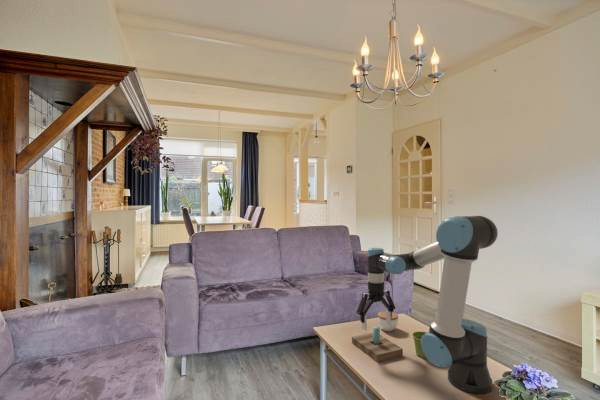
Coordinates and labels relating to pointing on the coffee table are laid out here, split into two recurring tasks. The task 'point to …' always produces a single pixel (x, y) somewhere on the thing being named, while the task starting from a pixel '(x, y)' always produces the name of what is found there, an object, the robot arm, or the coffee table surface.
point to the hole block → (377, 347)
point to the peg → (376, 335)
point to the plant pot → (418, 343)
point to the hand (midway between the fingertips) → (376, 327)
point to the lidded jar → (383, 321)
